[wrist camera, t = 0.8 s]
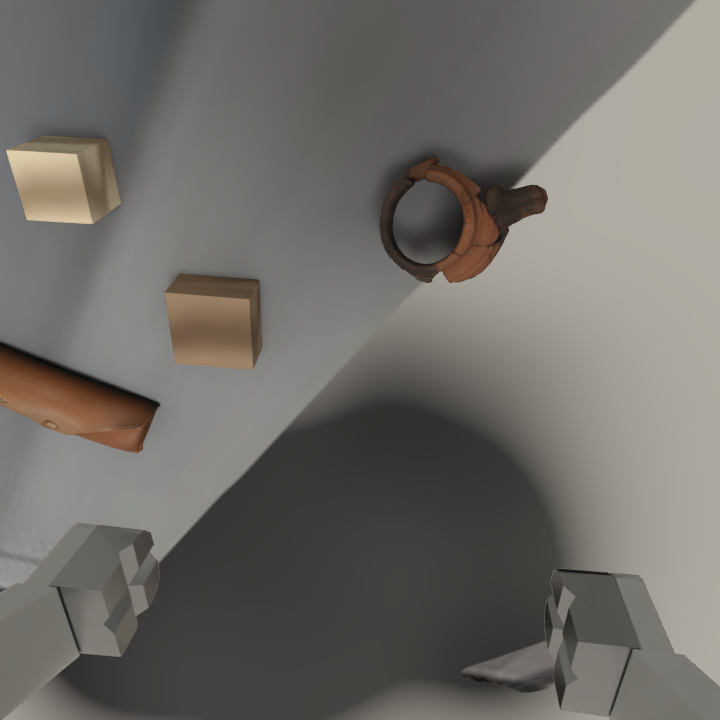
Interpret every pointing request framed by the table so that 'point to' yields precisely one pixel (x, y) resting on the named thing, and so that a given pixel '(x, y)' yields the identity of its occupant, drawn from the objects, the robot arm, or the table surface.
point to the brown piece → (480, 221)
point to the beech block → (65, 179)
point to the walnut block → (215, 321)
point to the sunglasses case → (73, 403)
